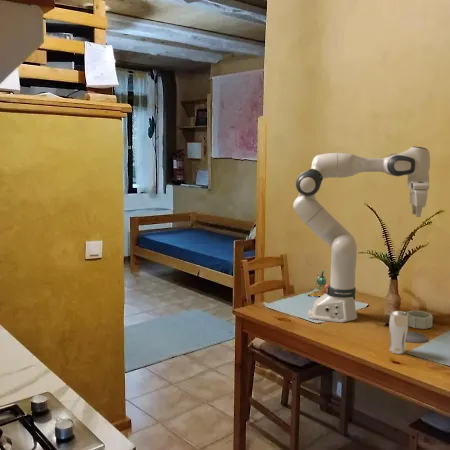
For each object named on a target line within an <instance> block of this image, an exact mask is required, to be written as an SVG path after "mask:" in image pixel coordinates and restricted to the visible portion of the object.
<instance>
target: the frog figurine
mask: <svg viewBox="0 0 450 450" xmlns="http://www.w3.org/2000/svg"><path fill="white" fill-rule="evenodd" d="M324 272H325V271H324V269H323V270H321V275H320V276H319V274H317V275H316V277H317V280H316V283H315V285H318V286H317V288H316V289H315V290H314V291H312V292H311V293H308V294H307V296H308V295H310V296H309V297H312V296H316V297H315V298H317V297H318V296H320V297H321V296H322V295H324V294H325V293H326V289H325V285H327V278H326V277H325V276H324ZM322 287H323V289H324V290H323V289H321V290H320V288H322ZM317 289H318V290H317ZM318 298H319V297H318Z"/></svg>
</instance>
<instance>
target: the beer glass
mask: <svg viewBox="0 0 450 450" xmlns="http://www.w3.org/2000/svg"><path fill="white" fill-rule="evenodd" d="M406 312H407V311H403V310H392V311H390V313H389V319H388V320H389V321H388V328H389V329H388V330H389V337H390V339H389V340H390V343H389V348H388V350H389V352H390V353H393V354H395V355H396V354H397V355H403V354H405V353H406V351H407V350H406V341H405V340H406V336H407V332H408V330H409V326H408V313H406Z"/></svg>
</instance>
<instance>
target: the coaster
mask: <svg viewBox="0 0 450 450" xmlns="http://www.w3.org/2000/svg"><path fill="white" fill-rule="evenodd" d="M428 341H429V337H428V336H427V335H426V334H423V333H420V332H417V331H408V332H407V336H406V340H405V343H406V342H408V343H412V344H422V343H427V342H428Z"/></svg>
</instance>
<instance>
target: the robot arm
mask: <svg viewBox="0 0 450 450" xmlns="http://www.w3.org/2000/svg"><path fill="white" fill-rule="evenodd" d="M430 168H431V154H430V150H428V148H426V147H422V146H417V145H416V146H410V147H409V149H406V150H404V151H402V152H399V153H391V154H389V155H387V156H384V157H361V156H359V155H358V156H357V155H355V154H352V153H347V152H346V153H345V152H328V153H321V154H317V155H315V156H314V157H313V159H312V161H311V168H310V169H308V170H306V171H302V172H301V173H299V174H298V176H297V178H296V180H295V188H296V190H297V192H298V196H297V197H296V198H295V199H294V201H293V204H292V207H293V210H294V211H295V213H296V214H297V216H298V217H299V218H300V219H301V221H303V222H302V223H304V224H305V225H306V226H307V227H308V228H309V229H310V230H311V231H312V232H313V233H314V234H315V235H316V236H317V237H318V238H319V239H321V240H322V241H323V242H324V243H325V244H326V245H327V246H329V248H331V253H330V258H331V259H330V279H329V280H330V284H326V285H324V288H325V289H326V293H325V294H324V295H322V296H321V297H318V298H317V299H315V301H314V302H313V306H312V308H310V309H309V310H307V311H308V312H307V317H308V318H310V319H311V320H317V319H318V320H319V321H325V322H326V321H327V322H334V323H343V324H344V323H347V322H350V321H354V320H356V319H358V314H357V310H356V309H357V308H356V296H357V295H356V294H357V289H356V286H355V285H356V267H357V254H358V253H357V252H358V251H357V250H358V245H357V242H356V238H355V237H354V236H353V235H352V233H350V232H349V230H347V229H346V228H345V227H344V226H343V225H342V224H341V223H340V222H338V220H337V219H336V218H334V217H333V216H332V214H331V213H330V212H329V211H328V210H327V209H325V207H323V205H322V204H321V203H320V202H319V201H318V200H317V198H316V194H317V193H318V191H319V190H320V189H321V186H322V185H321V184H322V182H323V180H324V179H328V178H330V179H331V178H334V179H335V178H348V177H353V176H355V175H357V174H361V173H365V172H366V173H371V172H372V173H375V172H378V173H379V172H380V173H381V172H382V173H385V174H387V175H389V176H392V177H398V178H399V177H402V176H407V183H406V184H407V185H406V188H407V189H409V198H408V199H409V203H410V204H411V209H412V210H411V211H412V212H411V213H412V215H415V217H416V218H421V216H422V211H423V208H425V207H426V205H427V199H428V191H429V190H430V173H429V172H430ZM325 289H324V290H325ZM318 320H317V321H318Z"/></svg>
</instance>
